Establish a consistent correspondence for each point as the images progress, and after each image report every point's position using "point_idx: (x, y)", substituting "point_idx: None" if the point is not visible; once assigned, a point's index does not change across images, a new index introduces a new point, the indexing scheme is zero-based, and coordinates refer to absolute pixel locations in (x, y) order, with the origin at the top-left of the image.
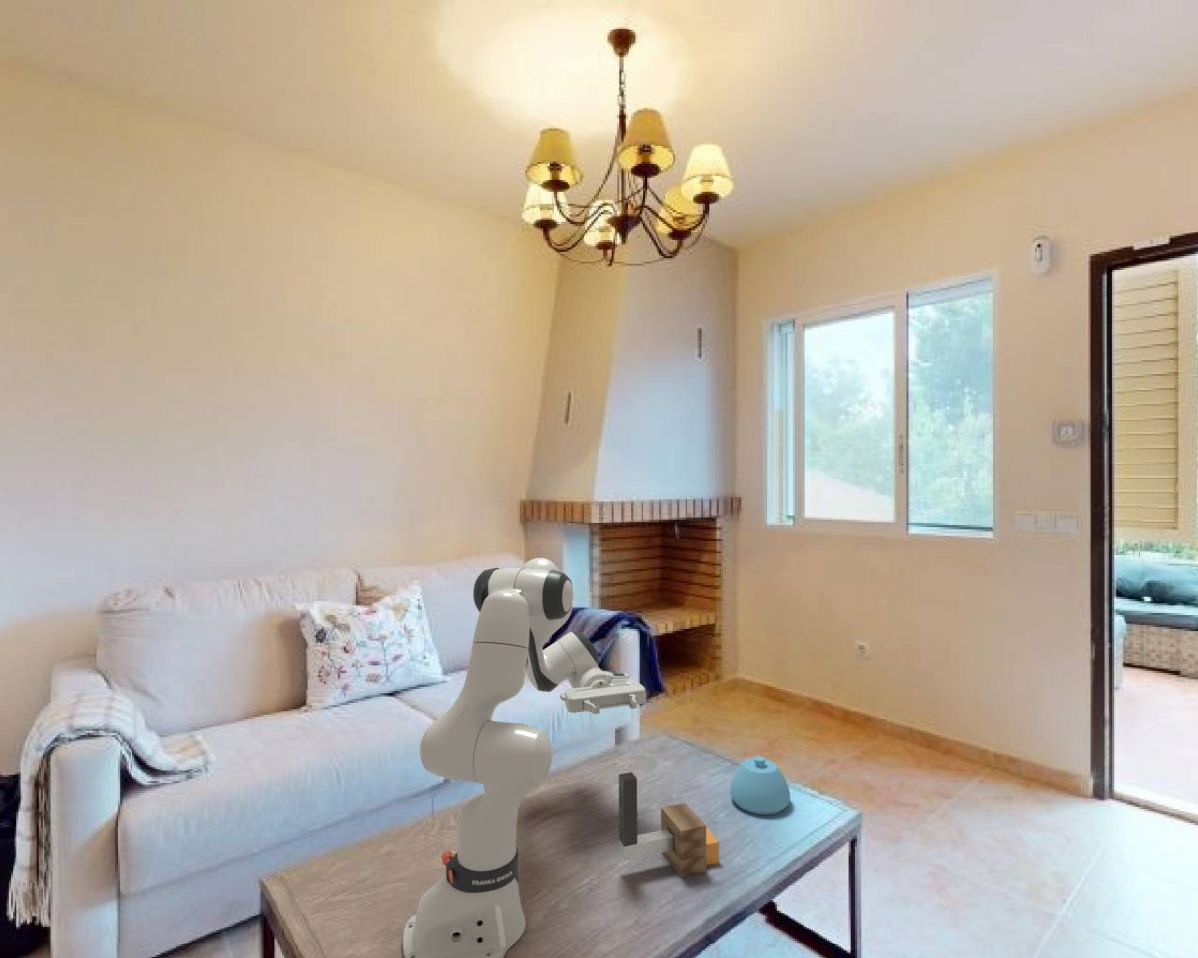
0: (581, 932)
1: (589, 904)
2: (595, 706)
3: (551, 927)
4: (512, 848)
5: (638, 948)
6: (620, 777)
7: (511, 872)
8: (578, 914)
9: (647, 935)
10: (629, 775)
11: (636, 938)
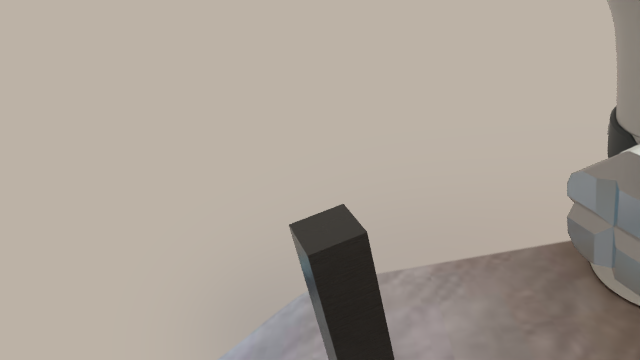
0: (471, 287)
1: (477, 354)
2: (630, 154)
3: (539, 286)
4: (617, 93)
5: None
6: (358, 224)
7: (608, 128)
8: (494, 324)
9: None
10: (318, 235)
11: None
